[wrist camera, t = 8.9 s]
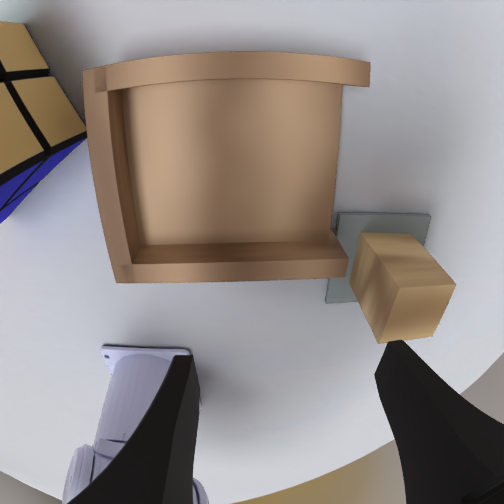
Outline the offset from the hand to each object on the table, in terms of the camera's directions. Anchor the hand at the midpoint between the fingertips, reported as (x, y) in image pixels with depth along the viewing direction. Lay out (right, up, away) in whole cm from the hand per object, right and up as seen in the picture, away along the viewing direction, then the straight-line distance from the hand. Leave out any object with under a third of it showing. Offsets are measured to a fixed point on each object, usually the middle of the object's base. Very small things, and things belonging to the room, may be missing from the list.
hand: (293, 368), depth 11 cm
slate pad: (+7, +4, +10) cm, 13 cm away
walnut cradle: (-3, +10, +6) cm, 12 cm away
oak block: (+7, +4, +10) cm, 13 cm away
